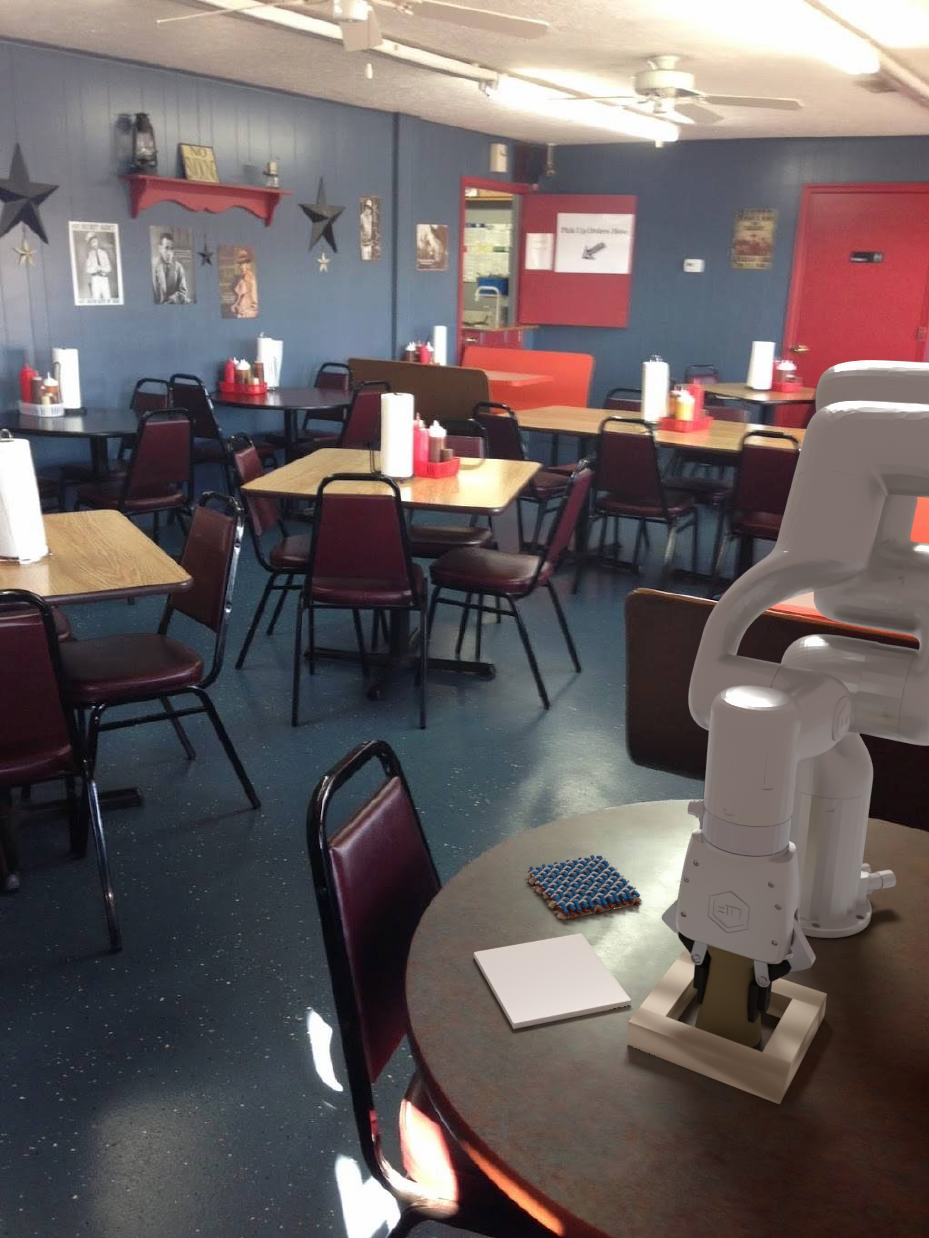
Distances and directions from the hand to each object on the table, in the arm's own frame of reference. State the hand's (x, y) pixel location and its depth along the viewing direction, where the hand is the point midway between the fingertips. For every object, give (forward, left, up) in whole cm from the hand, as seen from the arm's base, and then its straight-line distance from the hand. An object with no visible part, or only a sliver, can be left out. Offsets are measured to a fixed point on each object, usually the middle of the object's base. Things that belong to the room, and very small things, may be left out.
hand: (730, 1003), depth 100 cm
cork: (0, 0, -3) cm, 3 cm away
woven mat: (+3, -27, -4) cm, 27 cm away
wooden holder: (0, 0, -3) cm, 3 cm away
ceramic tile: (+13, -12, -3) cm, 18 cm away
